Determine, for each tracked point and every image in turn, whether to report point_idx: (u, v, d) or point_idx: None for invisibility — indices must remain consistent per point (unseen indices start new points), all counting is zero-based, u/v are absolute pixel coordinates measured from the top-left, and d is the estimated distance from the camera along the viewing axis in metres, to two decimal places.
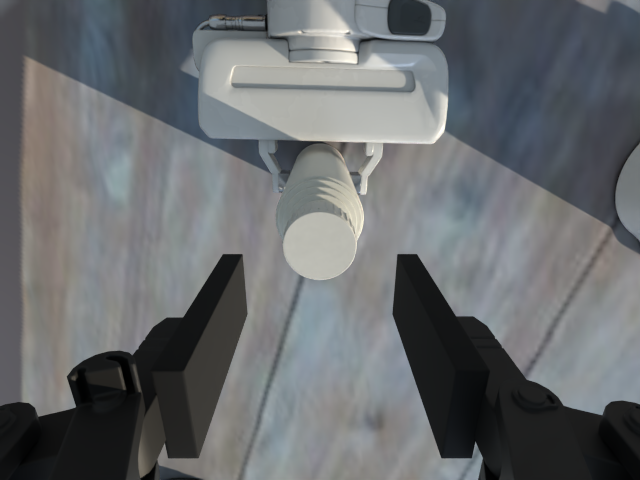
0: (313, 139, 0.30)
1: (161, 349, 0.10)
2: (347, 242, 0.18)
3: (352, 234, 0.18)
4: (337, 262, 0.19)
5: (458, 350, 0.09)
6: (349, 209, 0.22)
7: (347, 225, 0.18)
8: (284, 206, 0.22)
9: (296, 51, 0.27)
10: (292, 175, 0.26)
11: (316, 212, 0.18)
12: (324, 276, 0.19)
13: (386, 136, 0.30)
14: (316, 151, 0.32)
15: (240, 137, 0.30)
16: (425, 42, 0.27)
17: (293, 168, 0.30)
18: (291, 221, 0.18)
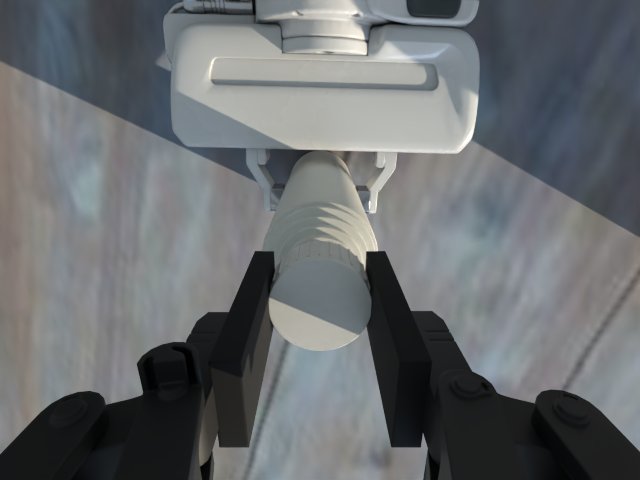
0: (312, 148, 0.24)
1: (209, 342, 0.10)
2: (359, 301, 0.13)
3: (366, 291, 0.13)
4: (345, 328, 0.13)
5: (405, 342, 0.09)
6: (359, 245, 0.16)
7: (359, 279, 0.13)
8: (273, 241, 0.17)
9: (291, 39, 0.21)
10: (285, 195, 0.20)
11: (315, 261, 0.12)
12: (326, 346, 0.14)
13: (401, 144, 0.24)
14: (316, 161, 0.27)
15: (223, 145, 0.24)
16: (452, 27, 0.21)
17: (288, 183, 0.25)
18: (280, 272, 0.13)
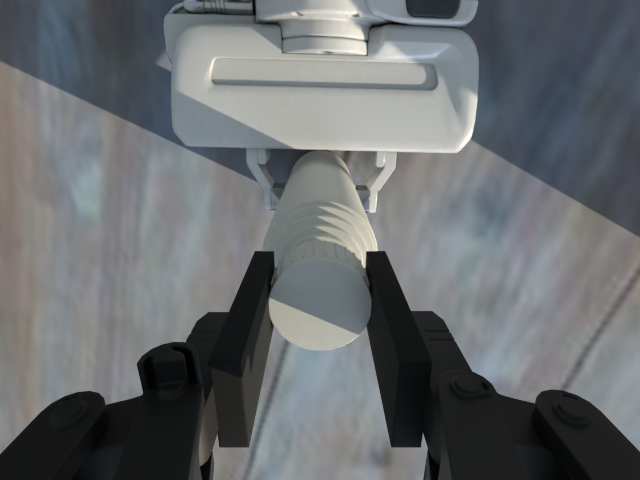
0: (312, 147, 0.25)
1: (209, 342, 0.10)
2: (302, 275, 0.12)
3: (289, 272, 0.12)
4: (337, 280, 0.13)
5: (405, 342, 0.09)
6: (359, 244, 0.16)
7: (277, 281, 0.13)
8: (273, 240, 0.17)
9: (291, 39, 0.22)
10: (285, 194, 0.21)
11: (272, 321, 0.13)
12: (364, 292, 0.13)
13: (401, 144, 0.24)
14: (316, 161, 0.27)
15: (223, 145, 0.24)
16: (452, 28, 0.21)
17: (288, 182, 0.25)
18: None
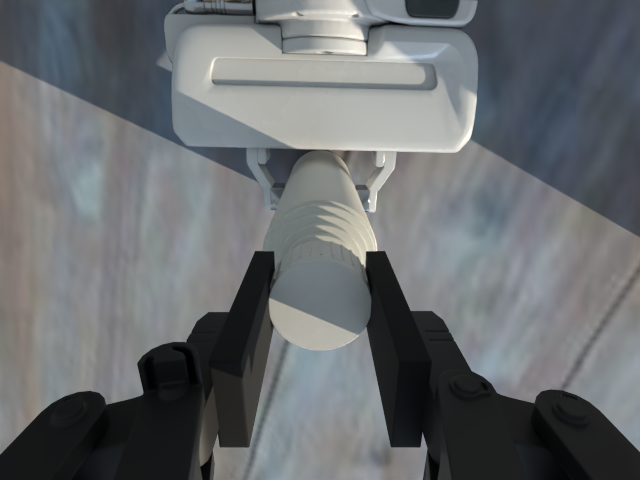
0: (312, 147, 0.25)
1: (209, 342, 0.10)
2: (289, 329, 0.13)
3: (290, 339, 0.13)
4: (285, 300, 0.13)
5: (405, 342, 0.09)
6: (359, 243, 0.16)
7: (302, 347, 0.14)
8: (273, 239, 0.17)
9: (291, 39, 0.22)
10: (285, 194, 0.21)
11: (347, 342, 0.14)
12: (290, 273, 0.12)
13: (400, 143, 0.24)
14: (316, 161, 0.27)
15: (223, 145, 0.25)
16: (451, 28, 0.21)
17: (288, 182, 0.25)
18: None
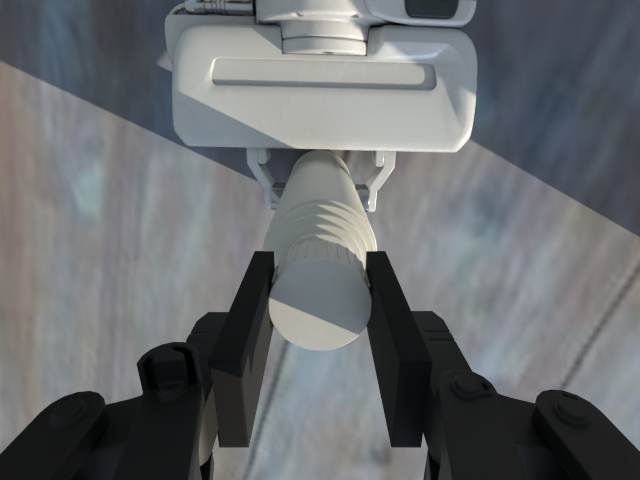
0: (312, 147, 0.25)
1: (208, 342, 0.10)
2: (351, 327, 0.13)
3: (364, 325, 0.13)
4: (320, 337, 0.13)
5: (405, 342, 0.09)
6: (359, 242, 0.16)
7: (370, 312, 0.13)
8: (274, 238, 0.17)
9: (291, 39, 0.22)
10: (286, 193, 0.21)
11: (355, 273, 0.13)
12: (291, 338, 0.13)
13: (400, 143, 0.24)
14: (316, 160, 0.27)
15: (224, 145, 0.25)
16: (450, 28, 0.21)
17: (288, 182, 0.25)
18: (318, 255, 0.13)
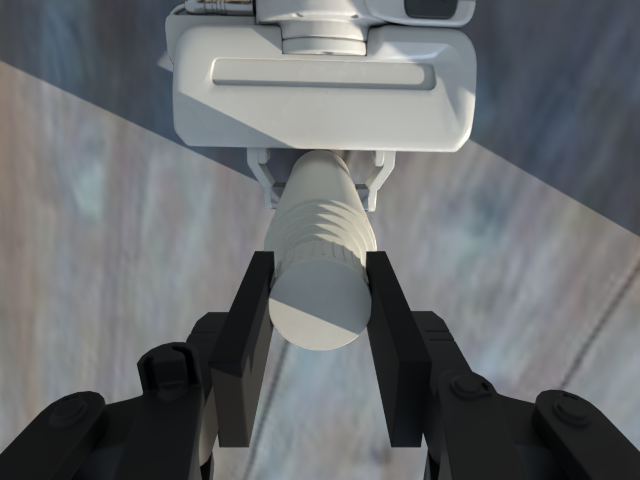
0: (312, 147, 0.25)
1: (208, 342, 0.10)
2: (335, 274, 0.12)
3: (329, 263, 0.12)
4: (354, 299, 0.13)
5: (405, 342, 0.09)
6: (358, 242, 0.17)
7: (313, 262, 0.12)
8: (274, 237, 0.17)
9: (291, 40, 0.22)
10: (286, 193, 0.21)
11: (273, 286, 0.13)
12: (361, 324, 0.13)
13: (400, 143, 0.25)
14: (316, 160, 0.27)
15: (224, 145, 0.25)
16: (449, 28, 0.22)
17: (288, 181, 0.25)
18: None
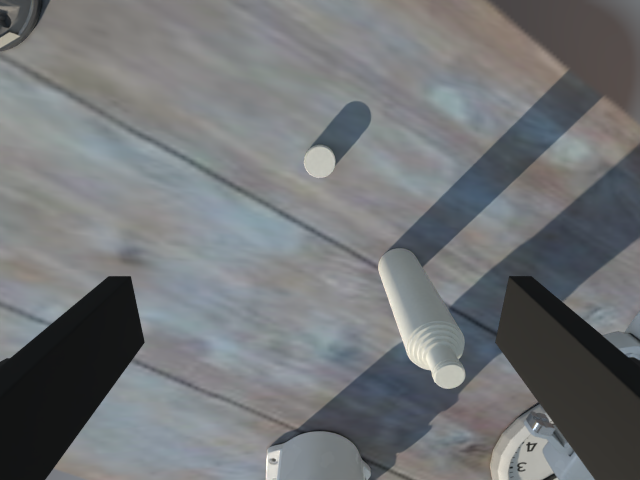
0: None
1: None
2: (324, 151, 0.43)
3: (322, 147, 0.43)
4: (330, 159, 0.43)
5: None
6: None
7: (317, 147, 0.43)
8: (455, 332, 0.33)
9: None
10: None
11: (306, 155, 0.43)
12: (332, 168, 0.44)
13: None
14: None
15: None
16: None
17: (433, 286, 0.42)
18: (305, 166, 0.44)
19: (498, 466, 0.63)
